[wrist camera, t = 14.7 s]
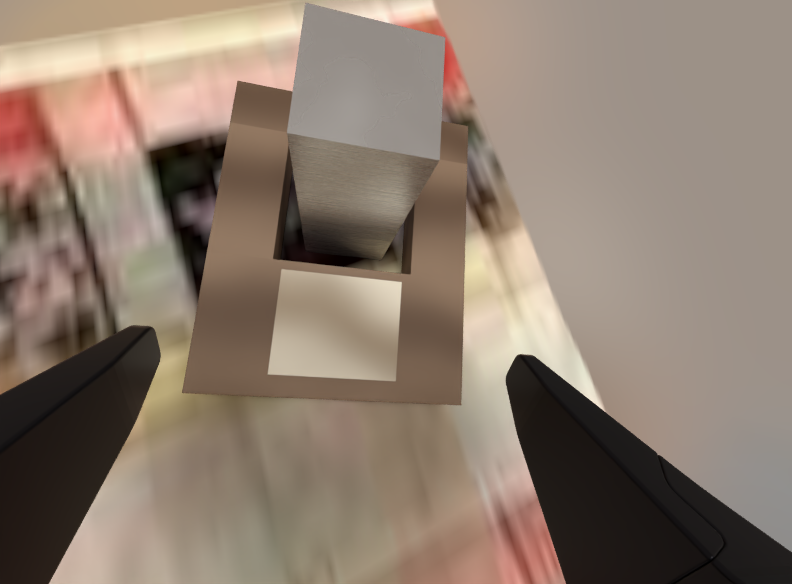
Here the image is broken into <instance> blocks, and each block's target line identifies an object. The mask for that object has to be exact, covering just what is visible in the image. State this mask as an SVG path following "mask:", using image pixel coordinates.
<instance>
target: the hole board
mask: <svg viewBox="0 0 792 584" xmlns="http://www.w3.org/2000/svg"><path fill="white" fill-rule="evenodd" d="M292 94H293V92H292V91H287V90H282V89H277V88H272V87H267V86H262V85H256V84H251V83H246V82H241V81H237V87H236V93H235V98H234V104H233V110H232V115H231V121H230V126H229V132H228V138H227V143H226V149H225V155H224V160H223V166H222V171H221V177H220V183H219V188H218V194H217V199H216V205H215V211H214V216H213V222H212V228H211V233H210V239H209V244H208V250H207V256H206V261H205V267H204V272H203V278H202V284H201V289H200V295H199V301H198V306H197V312H196V317H195V323H194V329H193V334H192V340H191V346H190V351H189V357H188V362H187V368H186V374H185V379H184V385H183V390H182V393H195V394H218V395H241V396H263V397H286V398H309V399H332V400H355V401H378V402H401V403H424V404H447V405H461V391H462V350H463V310H464V269H465V229H466V188H467V148H468V126H463V125H458V124H453V123H448V122H443V121H441V142H440V161H439V162H438V164H437V166H436V168H435V169H434V171H433V173H432V174H431V176H430V178H429V179H428V181H427V183H426V184H425V186H424V188H423V190H422V191H421V193H420V195H419V196H418V198H417V200H416V201H415V203H414V205H413V207H412V208H411V210H410V212H409V213H408V215H407V217H406V218H405V223H404V239H403V256H402V272H401V274H400V273H391V272H382V271H374V270H365V269H356V268H347V267H338V266H329V265H320V264H311V263H303V262H294V261H285V260H281V252H282V245H283V237H284V230H285V222H286V215H287V207H288V200H289V193H290V185H291V178H292V170H293V168H292V162H291V156H290V150H289V143H288V137H287V128H288V121H289V114H290V107H291V100H292Z"/></svg>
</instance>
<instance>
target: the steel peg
mask: <svg viewBox="0 0 792 584" xmlns="http://www.w3.org/2000/svg"><path fill="white" fill-rule="evenodd" d="M444 53H445V37H442V36H438V35H434V34H429V33H425V32H421V31H417V30H413V29H409V28H405V27H401V26H397V25H393V24H389V23H385V22H381V21H377V20H373V19H369V18H365V17H361V16H357V15H353V14H349V13H345V12H341V11H337V10H333V9H329V8H325V7H321V6H317V5H313V4H309V3H305V10H304V17H303V24H302V31H301V38H300V45H299V52H298V59H297V66H296V73H295V80H294V87H293V94H292V100H291V107H290V114H289V121H288V128H287V137H288V143H289V150H290V156H291V162H292V168H293V175H294V181H295V187H296V194H297V200H298V206H299V212H300V219H301V225H302V231H303V238H304V244H305V250H306V251H309V252H317V253H325V254H333V255H342V256H350V257H358V258H366V259H375V260H381V259H382V258H383V256H384V254H385V252H386V251H387V249H388V247H389V246H390V244H391V242H392V241H393V239H394V237H395V235H396V234H397V232H398V230H399V229H400V227H401V225H402V224H403V222H404V220H405V218H406V217H407V215H408V213H409V212H410V210H411V208H412V207H413V205H414V203H415V201H416V200H417V198H418V196H419V195H420V193H421V191H422V190H423V188H424V186H425V184H426V183H427V181H428V179H429V178H430V176H431V174H432V173H433V171H434V169H435V168H436V166H437V164H438V162H439V161H440V142H441V120H442V97H443V75H444Z"/></svg>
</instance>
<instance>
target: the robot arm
mask: <svg viewBox="0 0 792 584" xmlns="http://www.w3.org/2000/svg"><path fill="white" fill-rule="evenodd" d="M160 357H161V353H160V349H159V344H158V340H157V336H156V332H155V330H154V328H152V327H150V326H138V325H132V326H129V327H127V328H125V329H123V330H121V331H120V332H118V333H116V334H114V335H112V336H110V337H108V338H106V339H104V340H103V341H101V342H99V343H97V344H95V345H93V346H91V347H89V348H87V349H86V350H84V351H82V352H80V353H78V354H76V355H74V356H72V357H70V358H69V359H67V360H65V361H63V362H61V363H59V364H57V365H55V366H53V367H52V368H50V369H48V370H46V371H44V372H42V373H40V374H38V375H36V376H35V377H33V378H31V379H29V380H27V381H25V382H23V383H21V384H20V385H18V386H16V387H14V388H12V389H10V390H8V391H6V392H4V393H3V394H1V395H0V584H49V582H50V580H51V579H52V577H53V575H54V573H55V571H56V569H57V567H58V566H59V564H60V562H61V560H62V558H63V556H64V554H65V553H66V551H67V549H68V547H69V545H70V543H71V542H72V540H73V538H74V536H75V534H76V532H77V530H78V529H79V527H80V525H81V523H82V521H83V519H84V517H85V516H86V514H87V512H88V510H89V508H90V506H91V504H92V503H93V501H94V499H95V497H96V495H97V493H98V491H99V490H100V488H101V486H102V484H103V482H104V480H105V479H106V477H107V475H108V473H109V471H110V469H111V467H112V466H113V464H114V462H115V460H116V458H117V456H118V454H119V453H120V451H121V449H122V447H123V445H124V443H125V441H126V440H127V438H128V436H129V434H130V432H131V430H132V428H133V426H134V424H135V422H136V420H137V417H138V415H139V413H140V410H141V408H142V405H143V403H144V400H145V398H146V395H147V392H148V390H149V387H150V385H151V382H152V380H153V377H154V375H155V372H156V370H157V367H158V365H159V362H160ZM506 386H507V390H508V395H509V400H510V404H511V409H512V413H513V418H514V422H515V427H516V431H517V435H518V438H519V442H520V445H521V448H522V451H523V454H524V457H525V460H526V463H527V466H528V469H529V472H530V475H531V478H532V481H533V484H534V487H535V490H536V494H537V497H538V500H539V503H540V506H541V509H542V512H543V515H544V518H545V521H546V524H547V527H548V530H549V533H550V536H551V539H552V542H553V545H554V548H555V551H556V554H557V557H558V560H559V563H560V567H561V570H562V573H563V576H564V579H565V582H566V584H792V552H791V551H789V550H788V549H786V548H785V547H784V546H782V545H781V544H779V543H778V542H777V541H775V540H774V539H772V538H771V537H769V536H768V535H767V534H765V533H764V532H763V531H761V530H760V529H758V528H757V527H756V526H754V525H753V524H751V523H750V522H749V521H747V520H746V519H744V518H743V517H742V516H740V515H738V514H737V513H736V512H734V511H733V510H732V509H730V508H729V507H727V506H726V505H725V504H723V503H722V502H721V501H719V500H718V499H717V498H715V497H714V496H712V495H711V494H710V493H708V492H707V491H706V490H704V489H703V488H701V487H700V486H699V485H697V484H696V483H695V482H694V481H692V480H691V479H690V478H688V477H687V476H686V475H684V474H683V473H682V472H681V471H679V470H678V469H677V468H675V467H674V466H673V465H672V464H670V463H669V462H668V461H666V460H665V459H664V458H663V457H662V456H660V455H657V453H656V452H655V451H654V450H652V449H651V448H650V447H649V446H647V445H646V444H645V443H644V442H642V441H641V440H640V439H639V438H637V437H636V436H635V435H634V434H632V433H631V432H630V431H628V430H627V429H626V428H625V427H623V426H622V425H621V424H620V423H618V422H617V421H616V420H614V419H613V418H612V417H611V416H609V415H608V414H607V413H606V412H604V411H603V410H602V409H601V408H599V407H598V406H597V405H595V404H594V403H593V402H592V401H590V400H589V399H588V398H587V397H585V396H584V395H583V394H582V393H580V392H579V391H578V390H576V389H575V388H574V387H573V386H571V385H570V384H569V383H568V382H566V381H565V380H564V379H563V378H561V377H560V376H559V375H557V374H556V373H555V372H554V371H552V370H551V369H550V368H549V367H547V366H546V365H545V364H544V363H542V362H541V361H540V360H538V359H537V358H536V357H535V356H533V355H524V354H519V355H517V356H516V357H515V359H514V361H513V363H512V365H511V367H510V369H509V371H508V373H507V375H506Z"/></svg>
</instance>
